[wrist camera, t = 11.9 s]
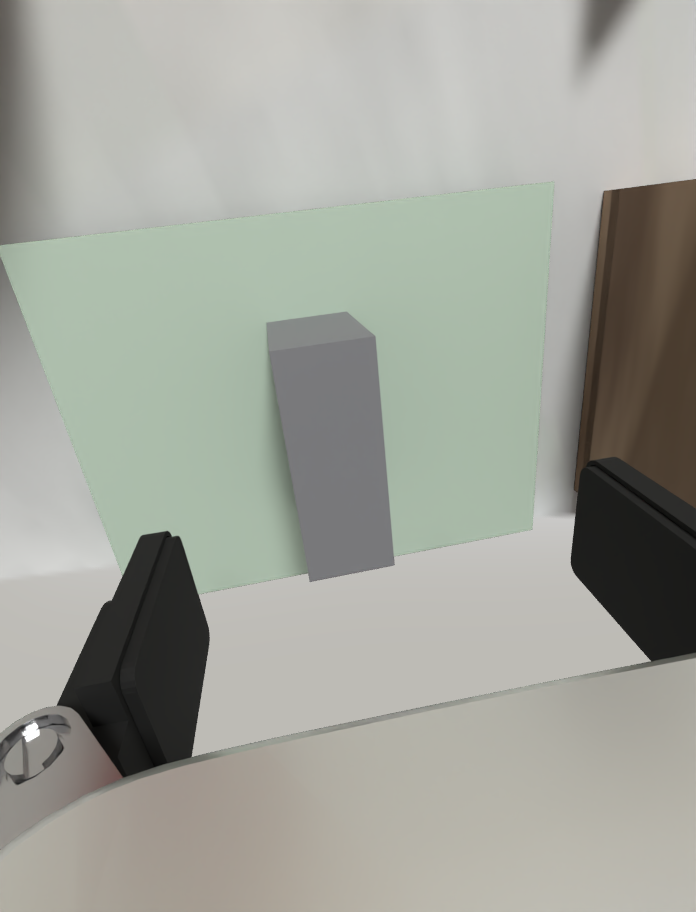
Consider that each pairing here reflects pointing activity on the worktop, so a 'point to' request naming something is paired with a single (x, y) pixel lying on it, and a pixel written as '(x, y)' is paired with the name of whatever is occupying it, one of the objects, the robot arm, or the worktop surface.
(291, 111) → the worktop surface
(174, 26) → the worktop surface
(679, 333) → the box
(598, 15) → the worktop surface
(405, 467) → the lid
